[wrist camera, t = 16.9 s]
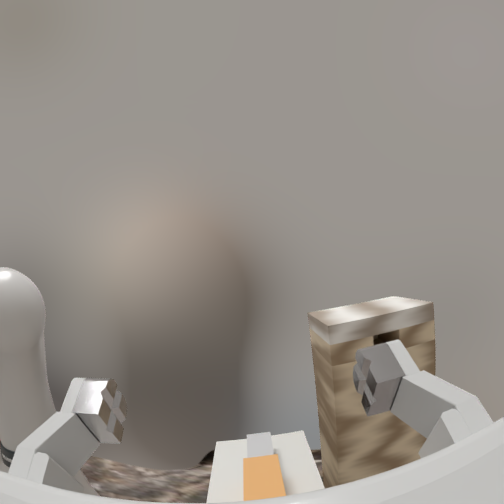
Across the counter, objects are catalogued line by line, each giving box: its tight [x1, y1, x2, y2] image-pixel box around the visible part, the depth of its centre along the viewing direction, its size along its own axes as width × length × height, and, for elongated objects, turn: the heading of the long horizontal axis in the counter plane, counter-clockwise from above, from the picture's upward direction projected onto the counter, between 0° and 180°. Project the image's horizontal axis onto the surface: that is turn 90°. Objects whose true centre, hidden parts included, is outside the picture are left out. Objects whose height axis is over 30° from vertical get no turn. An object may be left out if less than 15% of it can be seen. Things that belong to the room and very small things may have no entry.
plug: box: [243, 432, 286, 501], centre depth 22 cm, size 3×13×3 cm, turn 2°
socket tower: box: [308, 296, 435, 488], centre depth 33 cm, size 12×10×28 cm
